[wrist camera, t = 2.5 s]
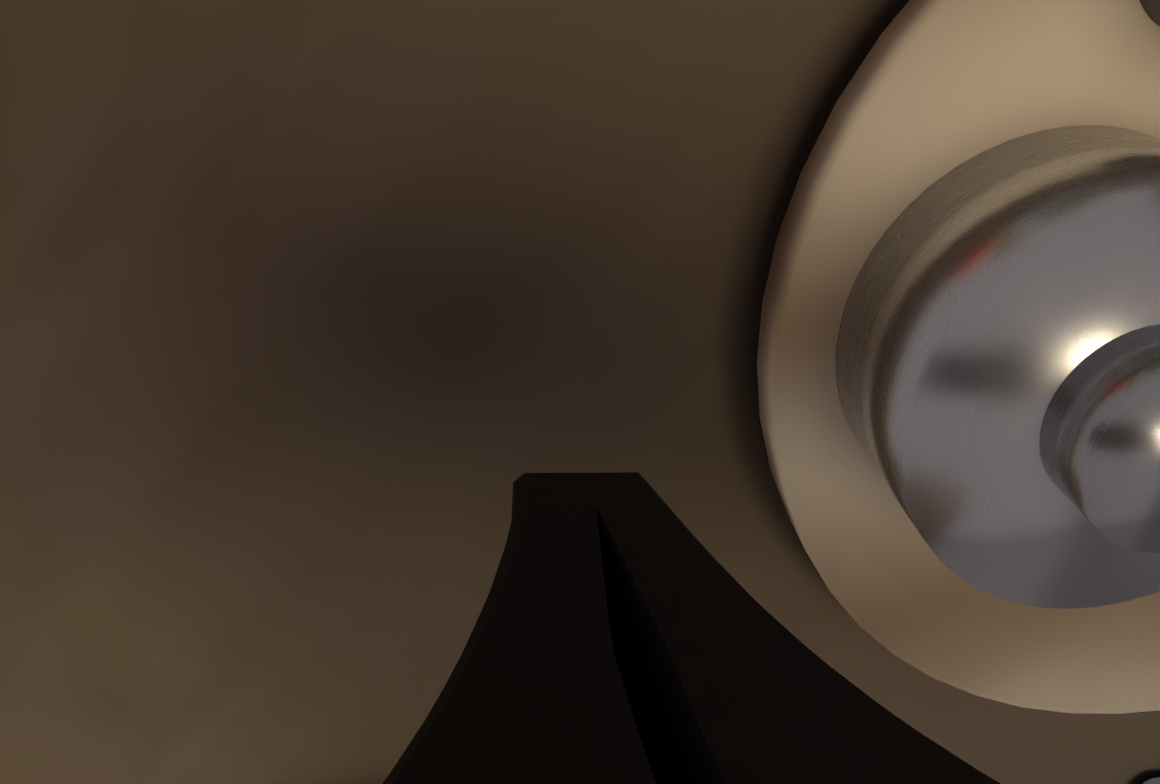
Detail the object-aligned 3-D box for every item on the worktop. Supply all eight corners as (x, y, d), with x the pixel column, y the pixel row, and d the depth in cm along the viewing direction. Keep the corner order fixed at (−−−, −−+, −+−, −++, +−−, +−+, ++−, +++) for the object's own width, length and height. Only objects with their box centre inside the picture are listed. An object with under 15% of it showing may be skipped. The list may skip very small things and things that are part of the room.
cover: (1157, 501, 20) (1322, 655, 16) (802, 505, 19) (890, 667, 15) (1302, 133, 16) (1552, 218, 13) (880, 116, 15) (1017, 200, 12)
